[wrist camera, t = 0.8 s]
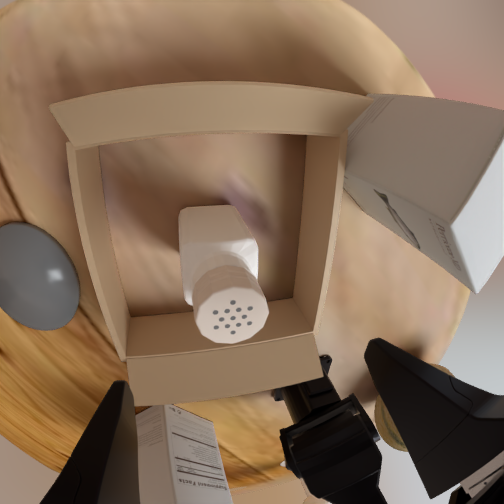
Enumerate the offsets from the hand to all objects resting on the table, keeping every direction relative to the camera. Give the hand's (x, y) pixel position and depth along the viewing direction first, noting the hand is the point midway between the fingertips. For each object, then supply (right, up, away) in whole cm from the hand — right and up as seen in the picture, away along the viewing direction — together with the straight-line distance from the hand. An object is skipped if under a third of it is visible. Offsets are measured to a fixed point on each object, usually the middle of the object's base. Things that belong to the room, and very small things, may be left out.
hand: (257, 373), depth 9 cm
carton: (-3, +6, +11) cm, 13 cm away
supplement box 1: (-11, -18, +21) cm, 30 cm away
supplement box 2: (+9, +12, +11) cm, 19 cm away
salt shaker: (-3, +6, +11) cm, 13 cm away
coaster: (-18, +2, +9) cm, 20 cm away
